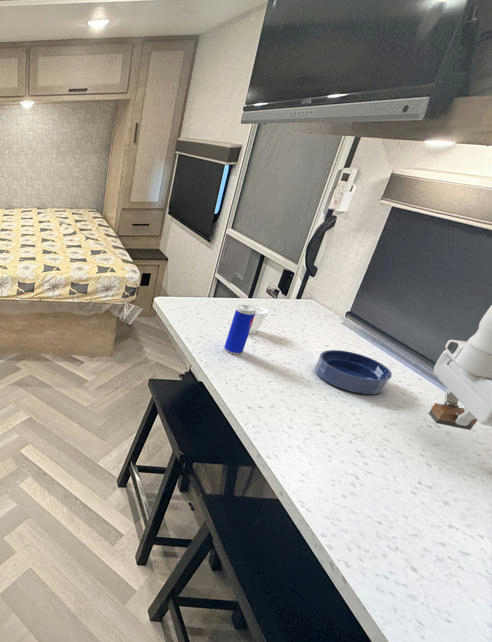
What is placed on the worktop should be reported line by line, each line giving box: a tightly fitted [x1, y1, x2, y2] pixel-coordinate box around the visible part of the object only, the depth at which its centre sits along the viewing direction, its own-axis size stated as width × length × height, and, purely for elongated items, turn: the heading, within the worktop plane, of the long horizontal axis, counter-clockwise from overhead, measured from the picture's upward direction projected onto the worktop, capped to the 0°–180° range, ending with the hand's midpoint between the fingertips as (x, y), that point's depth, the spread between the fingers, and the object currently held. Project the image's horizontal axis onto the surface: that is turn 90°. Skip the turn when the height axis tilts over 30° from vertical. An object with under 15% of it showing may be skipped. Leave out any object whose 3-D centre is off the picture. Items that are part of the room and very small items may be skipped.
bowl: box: [314, 349, 393, 395], centre depth 110 cm, size 15×15×5 cm
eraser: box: [428, 402, 478, 431], centre depth 86 cm, size 6×4×3 cm, turn 66°
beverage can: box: [224, 304, 256, 355], centre depth 122 cm, size 5×5×15 cm
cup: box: [248, 304, 269, 334], centre depth 134 cm, size 7×10×8 cm
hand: (453, 415), depth 86 cm, fingers closed on eraser, 3 cm apart
